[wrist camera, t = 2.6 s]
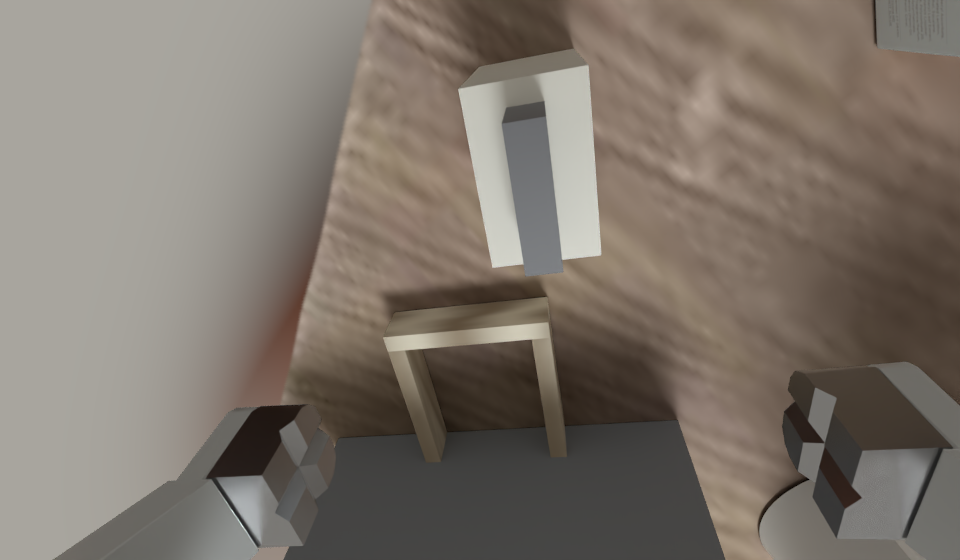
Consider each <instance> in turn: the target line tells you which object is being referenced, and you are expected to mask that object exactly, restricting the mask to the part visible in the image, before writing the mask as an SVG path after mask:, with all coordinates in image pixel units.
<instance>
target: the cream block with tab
mask: <svg viewBox="0 0 960 560" xmlns="http://www.w3.org/2000/svg"><path fill="white" fill-rule="evenodd" d="M458 91H459V96H460V101H461V106H462V111H463V116H464V122H465V127H466V132H467V137H468V142H469V148H470V153H471V158H472V163H473V168H474V174H475V179H476V184H477V189H478V194H479V199H480V205H481V210H482V215H483V220H484V225H485V231H486V236H487V241H488V246H489V251H490V257H491V262H492V267H493V268H494V267H503V266H512V265H520V264H524V270H525V276H534V275H543V274H552V273H561V272H563V264H562V260H564V259H573V258H582V257H590V256H599V255H601V243H600V228H599V214H598V199H597V184H596V169H595V155H594V140H593V125H592V110H591V96H590V81H589V66H588V64H587V63H586V62H585V60H584V59H583V58H582V57H581V56H580V55H579V54H578V53H577V52H576V50H575V49H569V50H564V51H558V52H553V53H548V54H543V55H537V56H532V57H527V58H522V59H517V60H511V61H506V62H501V63H496V64H490V65H485V66H480V67H478V69H477V70H476V71H475V72H474V73H473V74H472V75H471V76H470V77H469V78H468V79H467V80H466V81H465V82H464V83H463V84H462V85H461V86H460V88H459V89H458Z"/></svg>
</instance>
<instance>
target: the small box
mask: <svg viewBox="0 0 960 560" xmlns="http://www.w3.org/2000/svg"><path fill="white" fill-rule="evenodd" d="M875 1H876V30H877V47H878V48H880V49H888V50H897V51H906V52H916V53H926V54H935V55H946V56H956V57H960V0H875Z"/></svg>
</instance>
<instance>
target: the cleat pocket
mask: <svg viewBox="0 0 960 560" xmlns="http://www.w3.org/2000/svg"><path fill="white" fill-rule="evenodd" d="M383 339H384V342H385V345H386V348H387V351H388V354H389V356H390V359H391V362H392V365H393V368H394V371H395V374H396V377H397V380H398V382H399V385H400V388H401V391H402V394H403V397H404V400H405V403H406V406H407V408H408V411H409V414H410V417H411V420H412V423H413V426H414V429H415V432H416V434H417V437H418V440H419V443H420V446H421V449H422V452H423V455H424V458H425V460H426V463H431V462H441V460H442V455H443V450H444V445H445V441H446V436H447V430H446V427H445V423H444V420H443V417H442V413H441V410H440V407H439V403H438V400H437V397H436V393H435V390H434V387H433V384H432V380H431V377H430V374H429V370H428V367H427V364H426V360H425V357H424V354H423V350H422V349H426V348H438V347H450V346H461V345H473V344H484V343H496V342H508V341H519V340H531V339H532V345H533V351H534V358H535V364H536V370H537V376H538V382H539V388H540V395H541V401H542V407H543V413H544V419H545V425H546V432H547V438H548V444H549V450H550V456H551V457H567V451H566V436H565V424H564V416H563V409H562V401H561V394H560V387H559V379H558V372H557V365H556V357H555V350H554V342H553V335H552V328H551V320H550V313H549V305H548V298H547V297H540V298H531V299H521V300H511V301H501V302H491V303H481V304H472V305H462V306H452V307H442V308H432V309H422V310H412V311H403V312H394V315H393V317H392V319H391V321H390V323H389V325H388V328H387V330H386V332H385V334H384V336H383Z"/></svg>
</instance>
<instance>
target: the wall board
mask: <svg viewBox="0 0 960 560" xmlns="http://www.w3.org/2000/svg"><path fill="white" fill-rule="evenodd" d="M565 436H566V451H567V457H551V456H550V450H549V444H548V438H547V432H546V427H538V428H519V429H500V430H482V431H463V432H447V436H446V441H445V445H444V450H443V455H442V460H441V462H431V463H426V460H425V458H424V455H423V452H422V449H421V446H420V443H419V440H418V437H417V434H406V435H388V436H369V437H350V438H339V439H338V441H337V443H336V446H335V448H334V449H335V455H336V461H335V469H334V475H333V477H332V480H331V482H330V485H329V487H328V489H327V490H325V491H324V492H323V493H322V494H321V495H320V496H319V497H318V498H317V499H316V502H317V506H318V509H319V511H318V513H317V516H316V518H315V520H314V523H313V525H312V527H311V529H310V532H309V534H308V536H307V539H306V541H305V543H304V546H289V549H288V551H287V553H286V555H285V558H284V560H725V557H724V554H723V551H722V548H721V545H720V542H719V539H718V536H717V534H716V531H715V528H714V525H713V522H712V519H711V516H710V513H709V510H708V507H707V504H706V501H705V498H704V496H703V493H702V490H701V487H700V484H699V481H698V478H697V475H696V472H695V469H694V466H693V463H692V460H691V458H690V455H689V452H688V449H687V446H686V443H685V440H684V437H683V434H682V431H681V428H680V425H679V422H678V420H670V421H651V422H632V423H613V424H595V425H576V426H565Z"/></svg>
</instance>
